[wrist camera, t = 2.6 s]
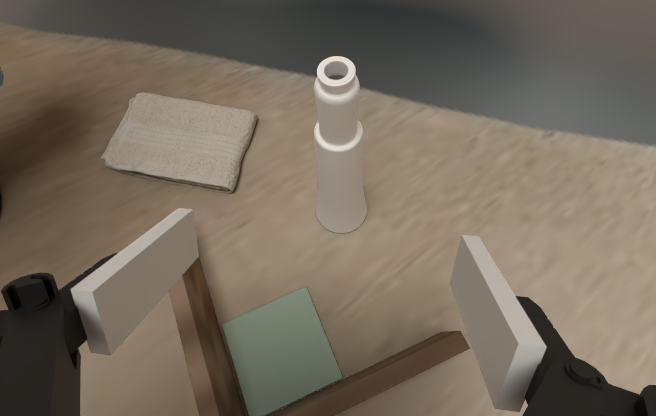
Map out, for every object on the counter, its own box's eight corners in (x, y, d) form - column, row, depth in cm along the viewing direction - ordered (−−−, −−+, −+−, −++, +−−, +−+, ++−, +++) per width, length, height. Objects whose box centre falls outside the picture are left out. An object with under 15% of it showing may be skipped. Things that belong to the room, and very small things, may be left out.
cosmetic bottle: (375, 197, 40) (405, 48, 19) (354, 242, 38) (363, 129, 17) (329, 178, 41) (312, 19, 21) (307, 220, 39) (264, 92, 19)
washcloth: (141, 101, 48) (128, 85, 45) (262, 118, 45) (256, 103, 43) (106, 174, 43) (89, 163, 41) (236, 197, 41) (228, 186, 38)
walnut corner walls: (180, 242, 39) (153, 226, 33) (355, 169, 41) (357, 143, 36) (237, 450, 31) (214, 474, 26) (449, 346, 34) (470, 348, 28)
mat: (222, 324, 35) (221, 324, 35) (306, 287, 36) (306, 286, 36) (251, 421, 32) (250, 422, 32) (342, 377, 33) (342, 377, 33)
